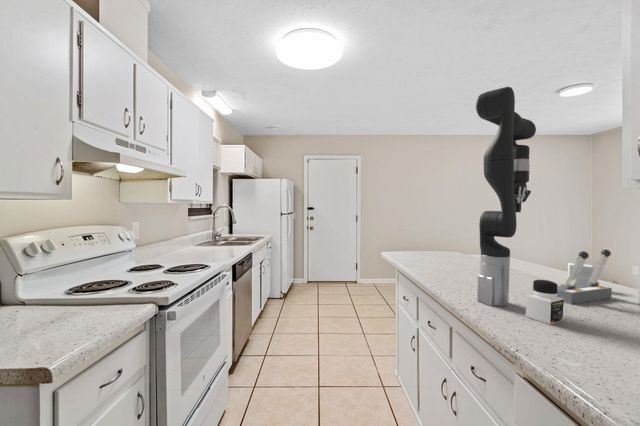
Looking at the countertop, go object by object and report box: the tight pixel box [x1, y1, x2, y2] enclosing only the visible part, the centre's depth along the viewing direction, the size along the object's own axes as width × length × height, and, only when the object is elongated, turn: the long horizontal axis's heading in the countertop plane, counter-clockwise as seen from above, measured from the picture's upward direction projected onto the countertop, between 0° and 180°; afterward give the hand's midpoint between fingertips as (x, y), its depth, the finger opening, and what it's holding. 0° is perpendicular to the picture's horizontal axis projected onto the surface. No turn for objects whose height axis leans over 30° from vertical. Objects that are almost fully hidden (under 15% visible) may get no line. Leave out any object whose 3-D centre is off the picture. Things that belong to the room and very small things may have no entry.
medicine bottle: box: [525, 279, 564, 326], centre depth 94 cm, size 7×7×12 cm
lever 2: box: [588, 249, 612, 286], centre depth 118 cm, size 3×3×16 cm
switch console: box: [556, 281, 613, 305], centre depth 117 cm, size 24×8×6 cm, turn 110°
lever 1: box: [564, 250, 590, 289], centre depth 113 cm, size 3×3×16 cm
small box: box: [566, 262, 595, 284], centre depth 131 cm, size 8×6×10 cm
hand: (517, 212), depth 127 cm, fingers closed
